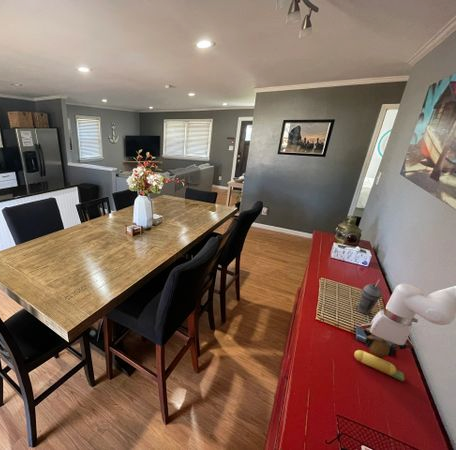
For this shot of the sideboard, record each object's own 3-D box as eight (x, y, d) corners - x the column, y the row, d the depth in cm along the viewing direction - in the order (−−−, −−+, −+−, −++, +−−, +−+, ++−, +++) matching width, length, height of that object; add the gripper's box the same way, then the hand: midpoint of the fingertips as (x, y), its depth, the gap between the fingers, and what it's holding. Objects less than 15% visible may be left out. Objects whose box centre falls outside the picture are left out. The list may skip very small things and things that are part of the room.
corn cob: (401, 375, 90) (406, 367, 88) (402, 384, 87) (408, 376, 85) (352, 353, 98) (356, 345, 96) (352, 360, 95) (356, 352, 93)
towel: (390, 342, 104) (392, 339, 103) (392, 354, 98) (394, 352, 97) (356, 328, 110) (357, 325, 110) (356, 339, 105) (357, 336, 104)
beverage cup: (371, 309, 122) (387, 277, 115) (373, 318, 117) (391, 284, 109) (353, 303, 126) (368, 272, 118) (355, 312, 120) (370, 279, 112)
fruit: (364, 345, 101) (371, 331, 98) (383, 352, 98) (391, 337, 95) (367, 356, 96) (374, 342, 93) (387, 363, 93) (395, 349, 90)
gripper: (427, 320, 87) (405, 354, 94) (367, 299, 97) (351, 332, 104) (432, 333, 82) (409, 368, 89) (368, 309, 91) (351, 343, 98)
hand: (378, 348), depth 96 cm, fingers closed on fruit, 6 cm apart
